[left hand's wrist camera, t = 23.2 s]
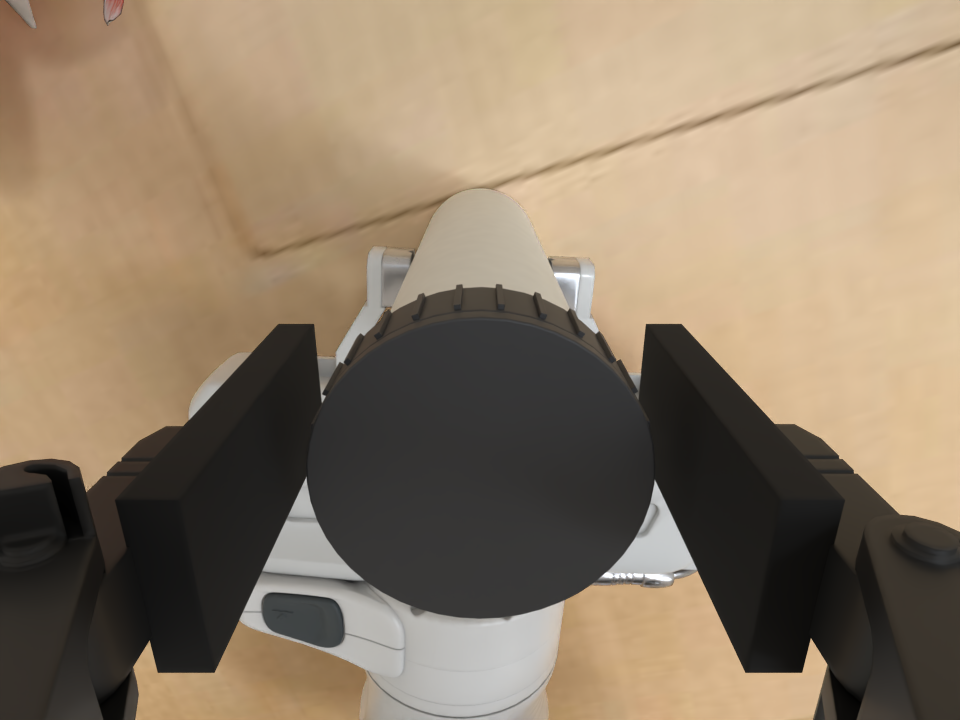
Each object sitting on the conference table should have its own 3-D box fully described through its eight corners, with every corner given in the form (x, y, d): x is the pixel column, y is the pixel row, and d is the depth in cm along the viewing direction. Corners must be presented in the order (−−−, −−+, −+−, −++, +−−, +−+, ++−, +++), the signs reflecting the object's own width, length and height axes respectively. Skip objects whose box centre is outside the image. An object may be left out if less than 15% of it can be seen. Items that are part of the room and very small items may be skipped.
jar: (514, 171, 27) (575, 283, 10) (548, 276, 29) (651, 528, 12) (409, 210, 28) (292, 379, 10) (448, 310, 29) (403, 599, 12)
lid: (694, 355, 11) (729, 396, 10) (555, 593, 13) (565, 661, 12) (388, 228, 10) (371, 251, 9) (287, 502, 12) (258, 561, 11)
